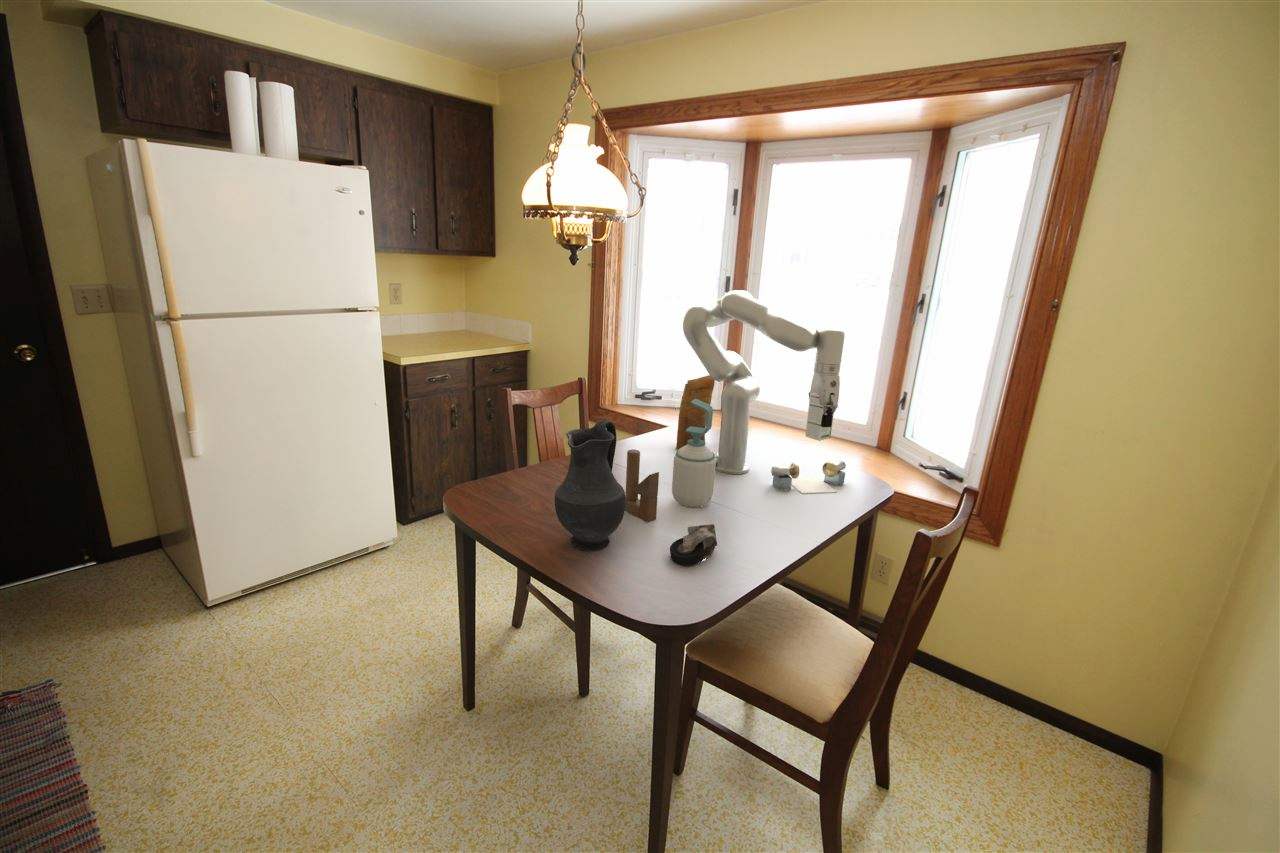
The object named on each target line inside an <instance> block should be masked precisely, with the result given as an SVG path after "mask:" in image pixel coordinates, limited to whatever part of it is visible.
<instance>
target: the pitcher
mask: <svg viewBox="0 0 1280 853" xmlns="http://www.w3.org/2000/svg"><path fill="white" fill-rule="evenodd" d="M565 436H566V437H567V446H568V447H569V448H570V456H569V457H570V459H569V463H568V464H569V465H568V470H567V472H566V473H567V474H566V476H565V477H564V480H563V481H562V483H561V484H560V485H559V486H558V487H557V488H556V489H555V491H554V492H555V493H554V509H555V510H554V511H555V514H556V517H557V520H558V521H559V523H560V524H561V526H562V527H563V528H564V529H565V530H566V531H567V532H568V533H570V534H571V535H572V537H571V539H570V545H571V546H572V547H573V548H575V549H577V550H579V551H580V550H581V551H584V552H585V551H587V552H588V551H589V552H591V551H598V550H602V549H604V548H606V547H608V546H609V545H610V542H611V541H610V540H611V539H610V538H609V537H610V536H611V535H612V534H613V533H614V532H615V531H616V530H617V529H618V528H619V526H620V525H621V523H622V521H623V518H624V515H625V513H626V511H625V504H626V498H625V496H626V490H625V489H624V487H623V485H621V483H619V482H618V480H617V478H616V477H615V475H614V473H613V465H614V459H615V455H616V447H617V429H616V426H615V424H614V422H613V421H611V420H609V419H608V420H607V419H600V420H598V421H597V422H596V423H595V424H594V425H593V426H592V427H590V428H589V427H588V428H576V429H571V430H568V431H567V432H565Z"/></svg>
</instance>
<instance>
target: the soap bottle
mask: <svg viewBox="0 0 1280 853" xmlns="http://www.w3.org/2000/svg"><path fill="white" fill-rule="evenodd" d="M691 404H692V405H694V406H696V407H699V408H701V409H703V410H704V411H706V413H707V421H706V428H700V427H693V426H691V427H689V428H688V429H686V432H688V433H691V435H692V436H693V439H690V440H688V443H687V445H686V446H684V447H682V448H680V449H679V450H678V449H676V452H675V455H674V458H673V468H672V469H673V470H672V483H671V486H672V487H671V494H672V496H673V500H675V502H676V503H678V505H680V504H681V505H680V506H682V507H685V506H686V507H685V508H690V507H691V508H692V509H697V508H698V507H699V508H702V506H703V507H705V506H706V505H708V504H709V503H710V502H711V500H712V498H713V496H714V489H715V488H714V487H715V486H714V485H715V477H716V476H715V474H716V470H715V466H716V458H715V455H716V453H714V452H713V451H712V450H711V449H710V448H708V447H707V446H706V440H705V441H703V440H700V437H701V436H703V435H704V434H705V435H706V434H707V433H708V432H709V431H710V430H711V429H712V427H713V426H712V424H713V415H714V408H713V406H711V404H710V405H709V404H707V403H705V402H702V401H700V400H698V399H694V400H692V401H691ZM691 508H690V509H691ZM699 508H698V509H699Z"/></svg>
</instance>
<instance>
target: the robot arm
mask: <svg viewBox="0 0 1280 853" xmlns="http://www.w3.org/2000/svg"><path fill="white" fill-rule="evenodd" d="M734 320H735V321H738V322H740V323H742V324H744V325H747V326H748V327H750V328H753V329H755V330H757V331H759V332H760V333H761V334H763V335H764V336H766V337H767V338H769V339H771V340H773V341H774V342H776V343H778V344H779V345H782V346H784V347H786V348H788V349H790V350H792V351H794V352H795V351H796V352H806V351H808V350H812V349H816V353H815V361H814V369H813V375H812V380H811V385H810V391H809V392H808V400H809V401H810V394H811V393H816V394H818V395H819V402H820V405H822V406H824V408H823V411H824V414H822V421H821V427H831V422H832V416H833V417H834V415H835V412H836V409H838V407H839V404H838V403H839V396H840V384H841V383H840V382H841V381H840V380H841V378H840V371H841V363H842V356H843V350H844V344H845V343H844V342H845V336H846V334H845V330H844V329H841V328H837V327H823V326H822V327H821V326H819V325H818V326H817V325H813V324H804V325H800V324H797V323H796V322H793V321H791V320H789V319H787V318H784V317H783V316H782V315H780V314H779V313H778V312H777V310H776V309H775V307H774V306H772V305H769V304H767V303H765V302H763V301H761V300H758V299H756V298H754V297H753V295H752V294H751V293H750V292H749V291H746V290H743V289H742V290H741V289H740V290H739V289H738V290H730V291H728V292H727V293H725V294H724V295H723V297H721V298H719V299H716V300H713V301H709V302H698V303H696V304H694V305H692V306H690V308H688V310H687V311H686V313H685V314H684V318H683V321H682V331H683V334H684V337H685V338H686V341H687V342H688V344H689V346H690V347H691V348H692V350H693V351H694V353H695V354H696V355H697V357H698V359H699V361H700V362H701V364H702V365H703V367H704V369H705V371H707V373H708V375H710V376H711V377H712V378H713V379H714V380H715V382H724V381H725V382H726V383H727V384H726V385H725V386H724V387H723V389H722V392H721V396H720V398H721V399H720V402H721V405H720V406H721V415H720V416H721V418H720V419H721V420H720V429H719V439H718V440H719V441H718V451H717V452H716V453H715V458H716V466H715V471H717V472H720V473H723V474H726V475H727V474H728V475H741V474H742V475H743V474H745V473H748V472H749V470H750V466H749V464H748V463H746V459H747V458H746V457H747V449H748V448H747V446H748V437H749V428H750V427H749V425H750V404H751V403H753V402H754V401H755V400H757V399H758V397H759V394H760V392H761V390H760V384H759V381H758V380H757V379H756V377H755V375H754V374H753V372H752V371H751V370H750V368H749V367H748V365H747V363H746V362H745V361H744V359H743V358H742V357H741V355H740V354H738V353H737V352H735V351H734V350H733V351H732V350H725V349H724V348H723V346H722V345H721V344H720V342H719V341H718V339H717V338H716V337H715V336H714V335H713V333H711V331H710V330H709V328H713V327H717V326H720V325H723V324H725V323H728V322H731V321H734ZM809 401H808V402H809ZM826 403H829V404H830V405H827V404H826ZM827 407H830V408H829V409H828V410H827ZM832 423H833V422H832Z"/></svg>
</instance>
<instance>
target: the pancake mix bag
mask: <svg viewBox="0 0 1280 853" xmlns="http://www.w3.org/2000/svg"><path fill="white" fill-rule="evenodd" d="M715 382H716V380H714V379H713V378H712V377H711V376H710V375H709V374H708V375H704V376H701V377H698V378H694V379H689V380H687V383H685V384H684V389H683V392H682V397H681V402H680V405H679V412H678V422H677V431H676V434H677V435H676V445H675V450H679V449H680V448H682V447H684V446H686V445H687V443H688V440H690V439H693V436H692V435H691V433H688V432H686V429H688V428H689V427H691V426H693V427H700V428H706V421H707V413H706V411H704V410H703V409H701V408H699V407H696V406H694V405H692V404H691V401H692V400H694V399H698V400H700V401H702V402H705V403H707V404H709V405H710V406H711V405H712V397H713V392H714V387H715ZM700 440H703V441H705V442H706V434H704V435H703V436H701V437H700Z"/></svg>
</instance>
